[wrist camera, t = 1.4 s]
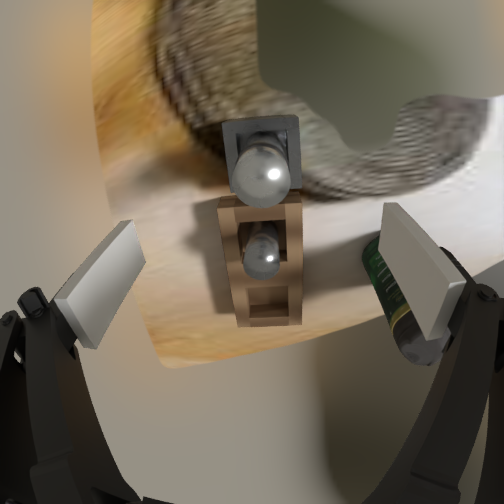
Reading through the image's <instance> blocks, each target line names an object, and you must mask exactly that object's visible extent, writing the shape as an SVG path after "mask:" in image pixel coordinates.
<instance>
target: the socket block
mask: <svg viewBox="0 0 504 504" xmlns="http://www.w3.org/2000/svg"><path fill="white" fill-rule="evenodd" d="M222 130H223V138H224V146H225V153H226V161H227V169H228V176H229V184H230V191H231V193H234V189H233V186H232V175H233V172H234V167H235V163H236V160H237V158H238V156H239V154H240V153H241V152H242V151H243V149H244V147H245V145H246V142H247V141H248V139H249V138H250V137H251V136H252V135H253V134H255V133H258V132H269V133H272V134H274V135H275V136H276V137H277V138H278V139H279V140H280V142H281V144H282V148H283V152H284V154H285V155H286V157H287V160H288V163H289V167H290V179H291V184H290V188H289V189H294V188H302V172H301V151H300V133H299V118H298V116H296V115H275V116H260V117H249V118H238V119H229V120H226V121H224V122H223V123H222Z"/></svg>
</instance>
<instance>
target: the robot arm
mask: <svg viewBox="0 0 504 504" xmlns="http://www.w3.org/2000/svg"><path fill="white" fill-rule="evenodd" d="M378 250H379V252H380V254H381V255H382V257H383V259H384V260H385V262H386V264H387V266H388V267H389V269H390V271H391V273H392V274H393V276H394V278H395V280H396V282H397V283H398V285H399V287H400V289H401V291H402V293H403V294H404V296H405V298H406V300H407V302H408V304H409V306H410V308H411V310H412V312H413V314H414V316H415V318H416V320H417V322H418V324H419V326H420V328H421V330H422V332H423V334H424V337H425V339H426V341H428V340H432V339H437V338H442V336H443V334H444V332H445V330H446V328H447V326H448V328H449V330H450V332H451V335H450V337H449V339H448V340H447V342H446V344H445V346H444V348H443V350H442V353H444V354H443V356H442V359H441V362H440V365H439V368H438V371H437V373H436V376H435V378H434V381H433V384H432V386H431V388H430V391H429V394H428V396H427V398H426V400H425V403H424V405H423V407H422V409H421V412H420V413H419V415H418V418H417V420H416V422H415V424H414V426H413V428H412V429H411V432H410V433H409V435H408V437H407V439H406V441H405V443H404V444H403V446H402V448H401V450H400V451H399V453H398V455H397V457H396V458H395V460H394V462H393V463H392V465H391V466H390V468H389V469H388V471H387V472H386V474H385V475H384V477H383V478H382V480H381V481H380V483H379V485H378V486H377V487H376V488H375V490H374V491H373V492H372V493H371V494H370V495H369V496H368V497H367V498H366V499H365V500H364V501H363V502H362V504H458V503H459V501H460V495H461V493H460V491H459V489H458V483H459V480H460V478H461V475H462V473H463V471H464V469H465V466H466V464H467V461H468V459H469V456H470V454H471V451H472V448H473V446H474V443H475V440H476V437H477V433H478V431H479V427H480V424H481V421H482V417H483V413H484V410H485V406H486V402H487V398H488V394H489V413H488V428H487V440H486V448H485V455H484V462H483V468H482V473H481V478H480V483H479V487H478V492H477V496H476V500H475V503H474V504H504V298H499V296H498V294H497V293H496V292H495V291H494V290H493V289H492V288H491V287H489V286H487V285H484V284H476V283H475V281H474V280H473V279H472V277H471V276H470V275H469V274H468V272H467V271H466V270H465V269H464V267H462V265H461V264H460V263H459V261H457V259H456V258H455V257H454V256H453V255H452V253H451V252H449V251H448V250H446V249H445V248H443V247H438V245H437V244H436V243H435V242H434V241H433V240H432V239H431V238H430V236H429V235H428V234H427V233H426V232H425V231H424V230H423V229H422V228H421V227H420V226H419V225H418V224H417V222H416V221H415V220H414V219H413V218H412V217H411V216H410V215H409V214H408V213H407V212H406V211H405V210H404V209H403V208H402V207H401V206H400V205H399V204H398V203H384V206H383V215H382V224H381V232H380V240H379V247H378ZM145 263H146V261H145V258H144V255H143V252H142V249H141V246H140V243H139V239H138V236H137V233H136V230H135V226H134V223H133V220H126V221H121V222H120V223H119V224H118V225H117V226H116V227H115V228H114V229H113V230H112V231H111V232H110V233H109V234H108V235H107V236H106V238H105V239H104V240H103V241H102V242H101V243H100V244H99V245H98V246H97V247H96V248H95V249H94V251H93V252H92V253H91V254H90V255H89V256H88V257H87V258H86V260H85V261H84V262H83V263H82V264H81V265H80V267H79V268H78V269H77V270H76V271H75V272H74V273H73V274H72V275H71V276H70V278H69V279H68V280H67V282H65V284H64V285H63V287H61V289H60V290H59V291H58V292H57V294H56V295H55V296H54V298H53V299H52V300H51V301H50V303H48V301H47V299H46V298H45V296H44V294H43V292H42V290H41V289H40V288H39V287H33V288H31V289H29V290H27V291H26V292H25V293H23V294H22V295H21V296H20V298H19V299H18V302H17V303H18V305H19V307H20V308H21V310H22V311H23V313H24V315H25V316H26V318H22V319H21V318H20V316H19V315H18V313H17V312H16V311H15V310H13V311H9V312H6V313H5V314H4V315H3V316H2V318H1V319H0V504H173V503H168V502H164V501H159V500H155V499H151V498H147V497H143V501H141V499H140V498H139V496H138V495H137V494H136V492H135V491H134V490H133V489H132V488H131V487H130V486H129V485H128V484H127V483H126V481H125V480H124V479H123V477H122V475H121V473H120V471H119V469H118V467H117V465H116V463H115V461H114V458H113V456H112V454H111V452H110V449H109V447H108V445H107V442H106V440H105V438H104V435H103V432H102V430H101V427H100V424H99V422H98V419H97V416H96V413H95V410H94V407H93V404H92V401H91V398H90V395H89V391H88V388H87V385H86V381H85V377H84V374H83V370H82V366H81V362H80V358H79V353H78V349H77V347H76V346H75V345H74V343H75V341H76V339H77V338H78V340H79V341H80V343H81V344H82V346H83V347H84V348H90V349H97V347H98V345H99V344H100V342H101V340H102V338H103V336H104V334H105V332H106V330H107V328H108V327H109V325H110V323H111V321H112V319H113V318H114V316H115V314H116V312H117V310H118V309H119V306H120V305H121V303H122V302H123V300H124V298H125V296H126V295H127V293H128V291H129V290H130V288H131V286H132V285H133V283H134V281H135V280H136V278H137V276H138V275H139V273H140V271H141V270H142V268H143V266H144V265H145ZM14 351H15V352H16V353H17V354H18V356H19V357H20V358H21V362H20V363H19V362H18V361H17V360H16V359H15V357H14Z"/></svg>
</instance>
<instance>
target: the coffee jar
mask: <svg viewBox="0 0 504 504" xmlns="http://www.w3.org/2000/svg"><path fill="white" fill-rule="evenodd" d="M379 240H380V236H379V237H377V238H376V239H374V240H373V241H372V242H371V243H370V244H369V245H368V246H367V247H366V248H365V250H364V252H363V255H362V262H363V264H364V267H365V269H366V271H367V273H368V275H369V278H370V280H371V282H372V284H373V286H374V289H375V291H376V294H377V296H378V298H379V301H380V303H381V306H382V308H383V310H384V313H385V315H386V318H387V320H388V323H389V326H390V329H391V332H392V334H393V337H394V339H395V341H396V344H397V346H398V348H399V350H400V351H401V353H402V354H403V355H404V357H406V358H407V359H408V360H409V361H410V362H412V363H413V364H416V365H427V366H431V365H433V364H435V363H436V362H438V361H440V360H441V359H442V356H443V354H444V353H442V350H443V348H444V346H445V344H446V342H447V340H448V339H449V337H450V335H451V332H450V330H449V328H448V326H447V328H446V330H445V332H444V334H443V336H442V338H437V339H432V340H428V341H426V339H425V337H424V334H423V332H422V330H421V328H420V326H419V324H418V322H417V320H416V318H415V316H414V314H413V312H412V310H411V308H410V306H409V304H408V302H407V300H406V298H405V296H404V294H403V293H402V291H401V289H400V287H399V285H398V283H397V282H396V280H395V278H394V276H393V274H392V273H391V271H390V269H389V267H388V266H387V264H386V262H385V260H384V259H383V257H382V255H381V254H380V252H379V250H378V247H379Z"/></svg>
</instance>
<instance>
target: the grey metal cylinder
mask: <svg viewBox="0 0 504 504" xmlns="http://www.w3.org/2000/svg"><path fill="white" fill-rule="evenodd" d="M290 184H291V179H290V167H289V163H288V160H287V157H286V155H285V154H284V152H283V148H282V144H281V142H280V140H279V139H278V138H277V137H276V136H275V135H274V134H272V133H269V132H258V133H255V134H253V135H252V136H251V137H250V138H249V139H248V141H247V142H246V145H245V147H244V149H243V151H242V152H241V153H240V154H239V156H238V158H237V160H236V163H235V167H234V172H233V175H232V186H233V189H234V192H235V194H236V195H237V197H238V198H239V199H240V200H241V201H242V202H244V203H245V204H247V205H249V206H251V207H255V208H268V207H272V206H274V205H276V204H278V203H279V202H281V201H282V200H283V199H284V198H285V197H286V195H287V193H288V191H289V188H290Z"/></svg>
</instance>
